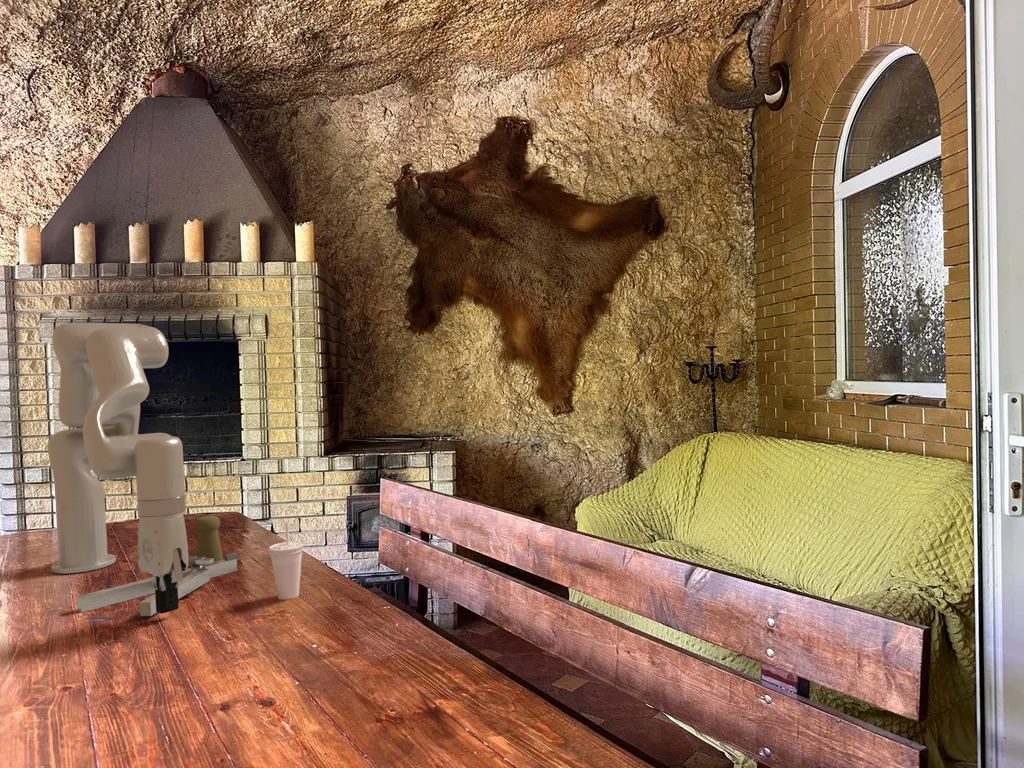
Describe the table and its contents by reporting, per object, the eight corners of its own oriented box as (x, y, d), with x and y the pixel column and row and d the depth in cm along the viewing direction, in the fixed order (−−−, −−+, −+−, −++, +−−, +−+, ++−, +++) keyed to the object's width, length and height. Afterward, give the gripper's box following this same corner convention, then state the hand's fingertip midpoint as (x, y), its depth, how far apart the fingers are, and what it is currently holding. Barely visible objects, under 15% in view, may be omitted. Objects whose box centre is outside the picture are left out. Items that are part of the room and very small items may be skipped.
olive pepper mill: (213, 569, 152) (210, 519, 151) (188, 568, 153) (186, 519, 153) (229, 561, 158) (227, 513, 157) (206, 560, 159) (203, 513, 159)
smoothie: (313, 592, 133) (309, 519, 133) (292, 603, 127) (288, 527, 127) (285, 589, 135) (281, 518, 135) (263, 600, 129) (259, 526, 129)
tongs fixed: (77, 610, 128) (76, 590, 128) (234, 568, 152) (233, 552, 152) (82, 612, 127) (80, 593, 126) (239, 570, 150) (239, 553, 150)
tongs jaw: (121, 616, 122) (119, 593, 122) (194, 575, 146) (193, 555, 146) (151, 615, 122) (149, 592, 122) (219, 574, 146) (218, 555, 146)
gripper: (121, 506, 123) (127, 608, 124) (158, 516, 114) (164, 626, 114) (165, 499, 129) (170, 596, 129) (203, 507, 119) (208, 612, 120)
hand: (167, 610), depth 122 cm, fingers closed
